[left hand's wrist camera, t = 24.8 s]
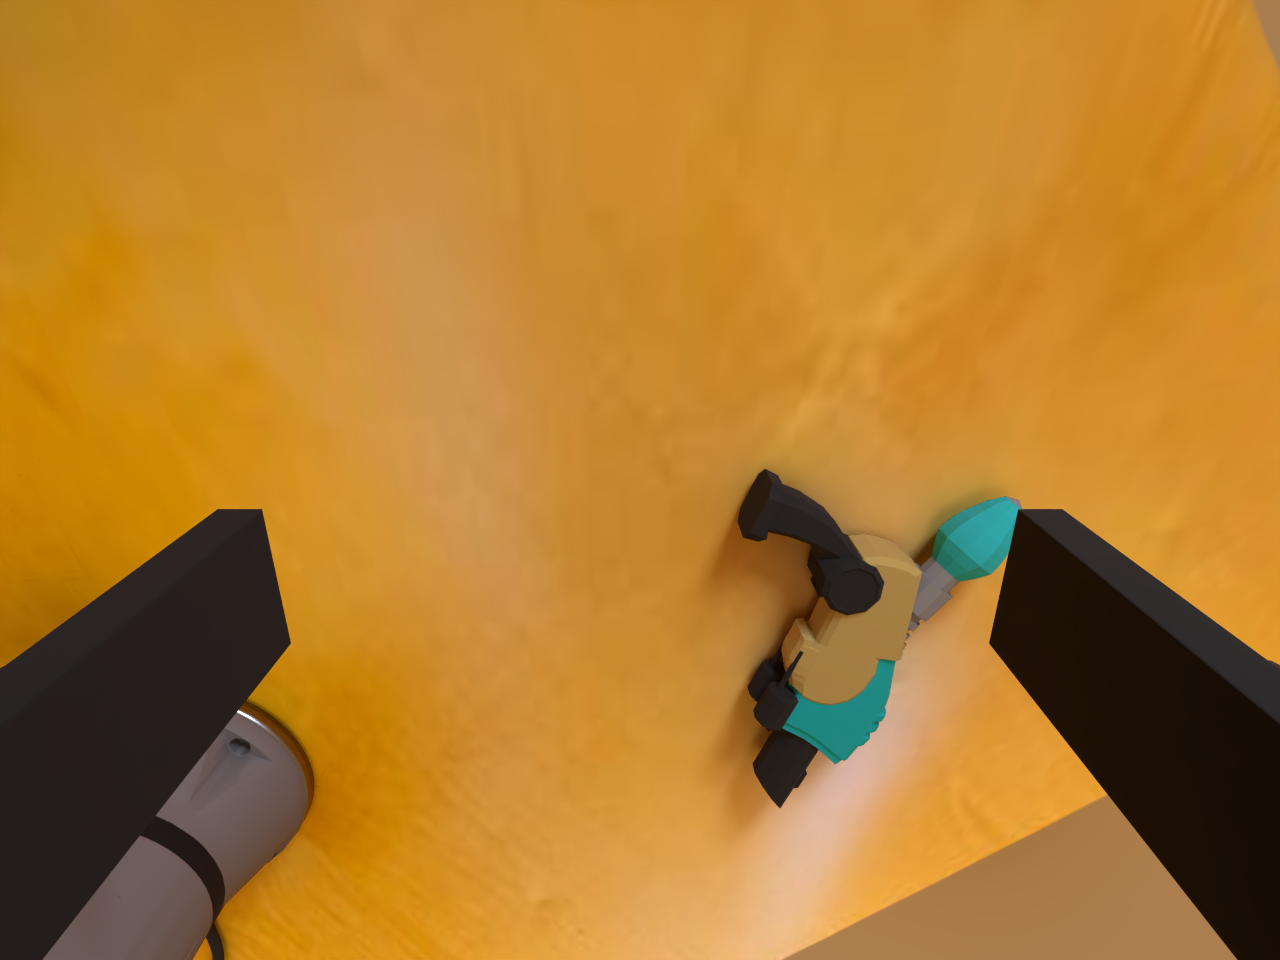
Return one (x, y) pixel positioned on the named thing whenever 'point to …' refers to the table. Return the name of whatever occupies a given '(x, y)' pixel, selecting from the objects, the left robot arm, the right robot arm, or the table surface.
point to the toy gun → (852, 622)
